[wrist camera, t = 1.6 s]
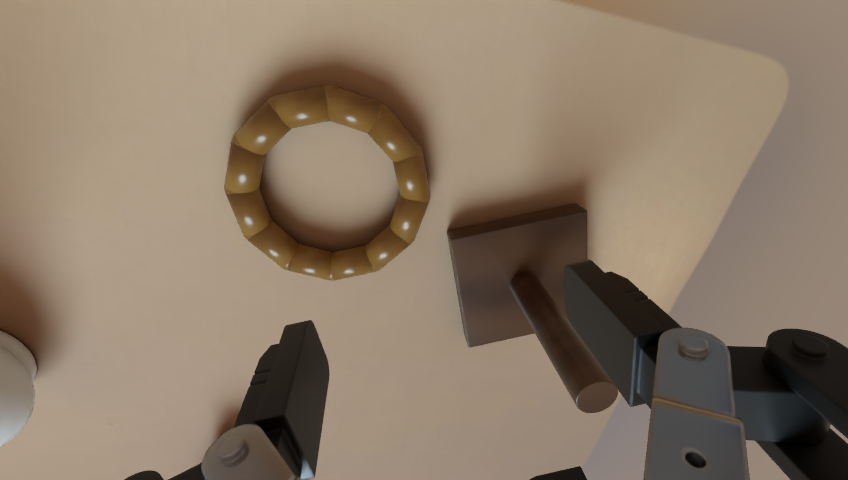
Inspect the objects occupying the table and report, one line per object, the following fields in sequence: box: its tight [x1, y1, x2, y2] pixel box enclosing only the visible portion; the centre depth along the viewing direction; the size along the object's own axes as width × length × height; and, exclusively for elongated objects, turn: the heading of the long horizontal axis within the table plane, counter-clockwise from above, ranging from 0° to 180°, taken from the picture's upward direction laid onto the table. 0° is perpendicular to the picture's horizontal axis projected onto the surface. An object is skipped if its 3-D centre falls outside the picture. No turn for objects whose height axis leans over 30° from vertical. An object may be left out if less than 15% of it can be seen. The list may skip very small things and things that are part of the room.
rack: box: [447, 204, 618, 413], centre depth 23 cm, size 9×9×12 cm
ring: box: [224, 85, 430, 281], centre depth 24 cm, size 12×12×2 cm
